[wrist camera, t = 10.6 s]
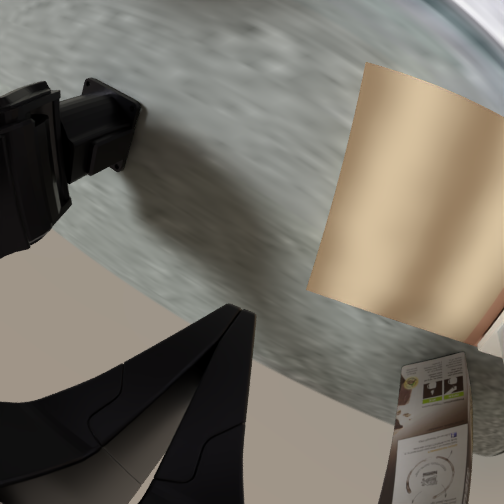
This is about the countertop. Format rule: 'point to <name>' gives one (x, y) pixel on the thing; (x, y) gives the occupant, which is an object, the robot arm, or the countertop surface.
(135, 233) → the countertop surface
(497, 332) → the white l-shaped piece
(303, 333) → the countertop surface
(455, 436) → the coffee box
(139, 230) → the countertop surface
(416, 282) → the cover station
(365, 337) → the countertop surface
